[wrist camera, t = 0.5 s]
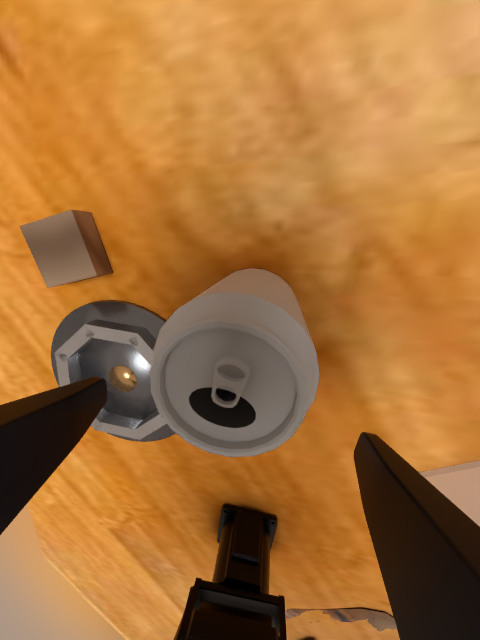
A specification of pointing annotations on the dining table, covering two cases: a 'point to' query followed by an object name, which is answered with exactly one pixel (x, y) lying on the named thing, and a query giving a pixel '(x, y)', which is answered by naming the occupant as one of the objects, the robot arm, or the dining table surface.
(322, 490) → the dining table surface
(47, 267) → the walnut block
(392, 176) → the dining table surface
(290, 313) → the can
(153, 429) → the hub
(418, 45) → the dining table surface
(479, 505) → the butter dish
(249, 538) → the robot arm
